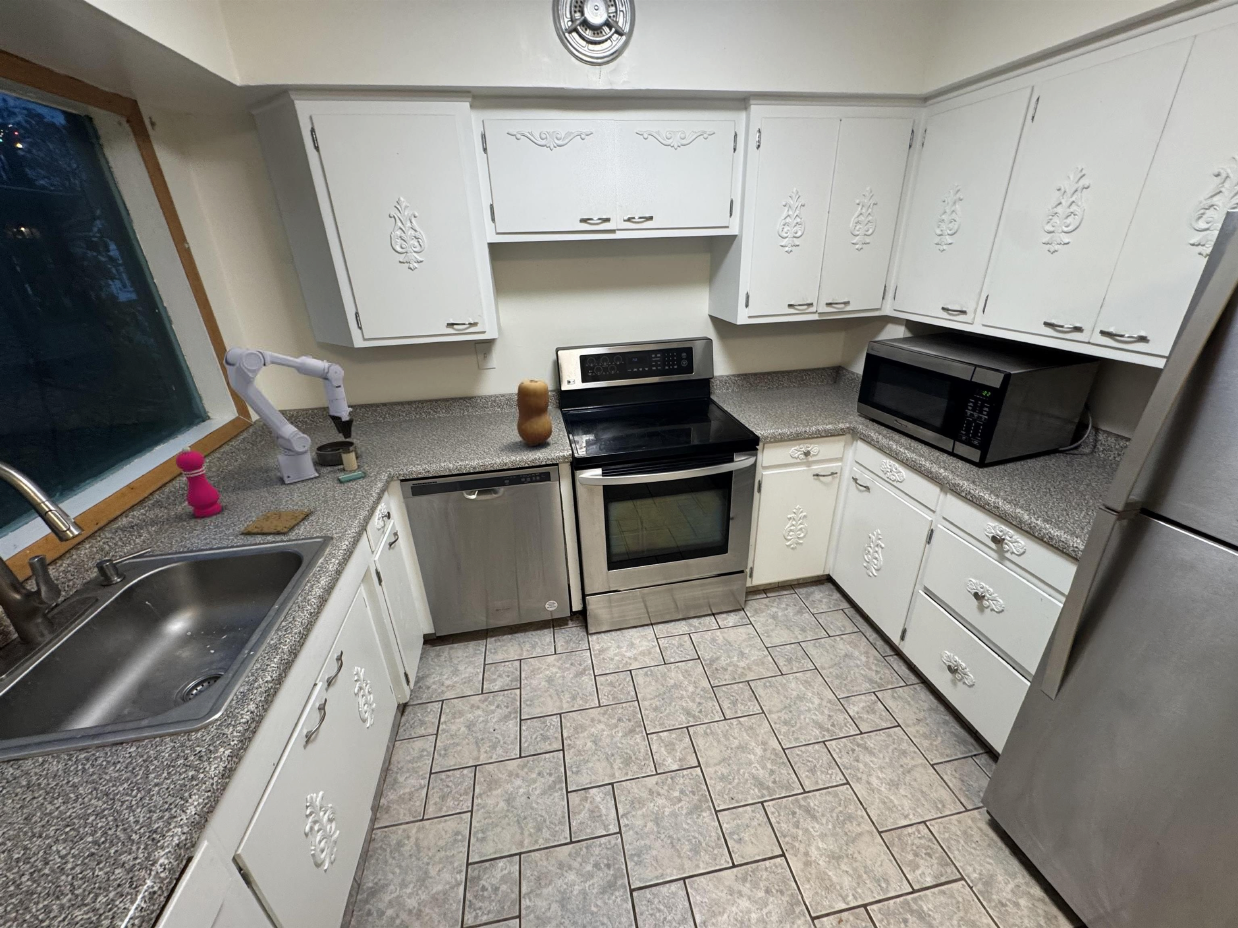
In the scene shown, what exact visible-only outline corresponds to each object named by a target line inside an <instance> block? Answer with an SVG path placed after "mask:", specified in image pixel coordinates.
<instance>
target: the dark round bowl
mask: <svg viewBox="0 0 1238 928" xmlns="http://www.w3.org/2000/svg"><path fill="white" fill-rule="evenodd" d="M347 447H353V448H354V453H355V457H356V459H357V458H358V457H359V450H358V445H357V442H356V441H354V440H350V439H349V440H348V439H341V440H339V439H338V440H332V441H328V442H324V443H322V444H320V445H317V446H316V447H315V448H314V450H313V452H314V455H315V458H316V462H317V463H318V464H319V465H324V466H335V465H341V464H343V459H342V455H341V452H340V450H341V449H343V448H347Z"/></svg>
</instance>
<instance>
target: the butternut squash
mask: <svg viewBox="0 0 1238 928" xmlns="http://www.w3.org/2000/svg"><path fill="white" fill-rule="evenodd" d="M516 396H517V397H516V406H517V409H518V418H517V424H516V429H517V430H516V431H517V433H518V436H519V437H520V439H521V440H522V441H523V442H525V443H526V444H527V445H529V446H530V447H534V446H538V445H542V444H543V443H545V442H546V441H549V439H550V438H551V437H552V434H553V424H552V421H551V418H550V415H549V411H548V410H549V403H550V391H549V386H548V384H547V382H546V381H544V380H542V379H533V378H532V379H531V378H526V379H523V380H522V381H521V382H519V384H518V386H517V392H516Z"/></svg>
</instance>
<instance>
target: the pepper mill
mask: <svg viewBox="0 0 1238 928" xmlns="http://www.w3.org/2000/svg"><path fill="white" fill-rule="evenodd" d="M204 464H205V458H204V456H203V454H202V453H200V452H198V451H194V450H191V448H190V447H189V446H183V447H182V448H181V453H180V454H178V455H177V456H176V458H175V465H176V467H178V468H179V469H180V470H181V473H182V476H183V477H185V478H186V480H187V483H188V487H187V488H188V489H187V493H186V501H187V505H189V506H190V507H192V508H193V509H192V512H193V515H194V517H197V518H205V517H209V516H213V515H217V514H218V513H220V512H221V511H222V509H223V508H222V506H221V503H220V502H219V500H220V497H221V496H220V493H219V491H218V490H217V489H216V488H215V487H214V486H213V485H211V483H210V482H209V481H208V479H207V477H206V474H205V473H206V471H207V470H206V467H205V466H203V465H204Z"/></svg>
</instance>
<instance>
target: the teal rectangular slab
mask: <svg viewBox="0 0 1238 928" xmlns="http://www.w3.org/2000/svg"><path fill="white" fill-rule="evenodd" d="M337 478H338V480H339V481H340V482H341V483H347V482H351V481H355V480H359V479H363V478H366V475H365V474H364V473H363V472H362V471H361V470H359V471H354V472H350V473H348V474H342V475H339V476H337Z"/></svg>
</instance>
